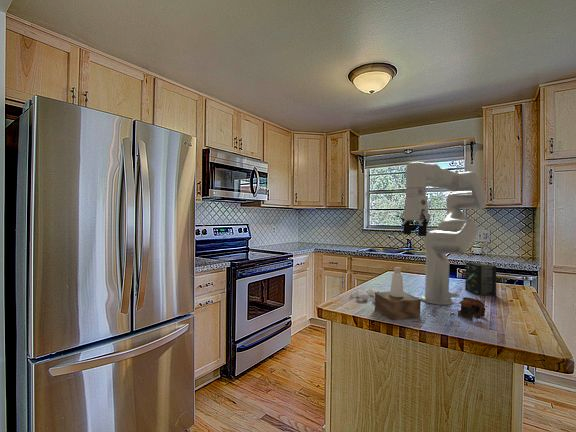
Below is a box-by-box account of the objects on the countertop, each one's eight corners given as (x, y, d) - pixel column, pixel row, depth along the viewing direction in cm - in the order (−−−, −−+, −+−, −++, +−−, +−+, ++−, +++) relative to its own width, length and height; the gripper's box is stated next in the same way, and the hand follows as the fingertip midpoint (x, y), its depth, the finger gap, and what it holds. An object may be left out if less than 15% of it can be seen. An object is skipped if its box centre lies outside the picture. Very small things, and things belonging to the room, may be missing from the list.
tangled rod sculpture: (352, 293, 154) (351, 285, 155) (382, 293, 151) (381, 284, 151) (351, 302, 136) (350, 293, 136) (385, 302, 132) (384, 293, 133)
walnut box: (401, 307, 127) (401, 291, 127) (420, 318, 115) (421, 299, 115) (374, 309, 124) (374, 292, 124) (391, 320, 112) (391, 301, 112)
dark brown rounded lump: (449, 314, 121) (455, 295, 123) (471, 325, 121) (476, 306, 124) (471, 316, 110) (477, 295, 112) (495, 328, 110) (500, 307, 112)
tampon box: (496, 295, 150) (497, 265, 150) (477, 295, 150) (478, 265, 150) (482, 290, 161) (483, 262, 161) (464, 289, 161) (465, 261, 161)
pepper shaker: (400, 298, 116) (401, 269, 115) (387, 295, 119) (387, 267, 119) (406, 295, 120) (407, 267, 119) (393, 292, 123) (393, 265, 123)
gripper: (438, 192, 117) (437, 236, 118) (410, 194, 134) (409, 233, 134) (421, 191, 116) (420, 236, 116) (395, 193, 132) (394, 233, 133)
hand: (414, 235), depth 125 cm, fingers open, 9 cm apart
